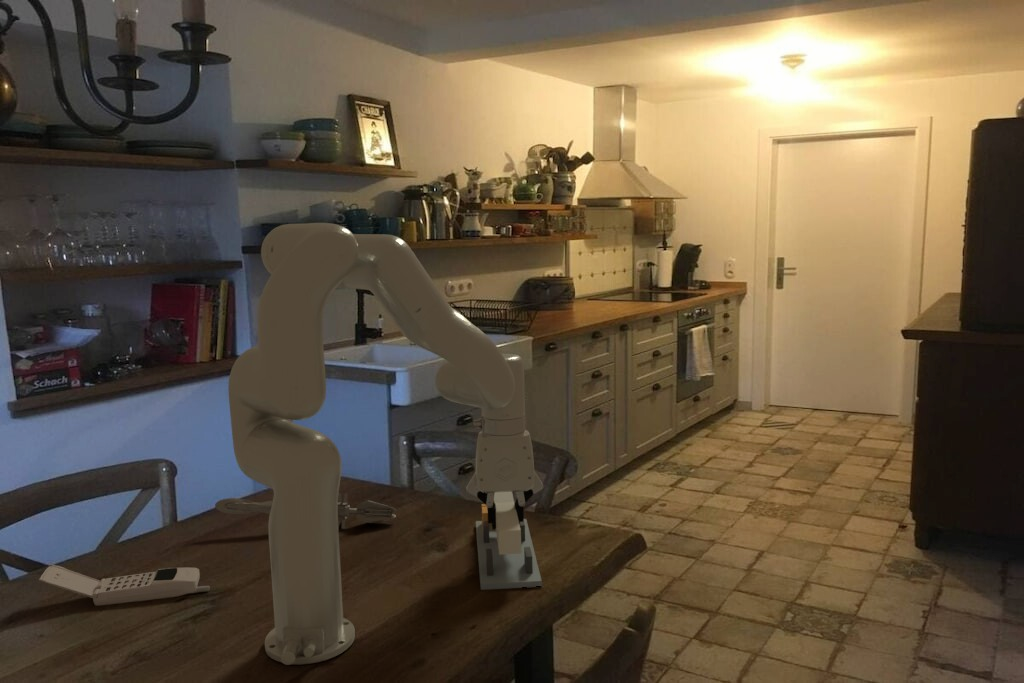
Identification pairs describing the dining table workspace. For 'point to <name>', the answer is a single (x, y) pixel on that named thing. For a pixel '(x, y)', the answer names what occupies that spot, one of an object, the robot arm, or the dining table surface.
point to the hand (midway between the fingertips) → (505, 525)
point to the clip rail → (505, 559)
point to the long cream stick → (507, 524)
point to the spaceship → (364, 510)
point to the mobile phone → (127, 584)
